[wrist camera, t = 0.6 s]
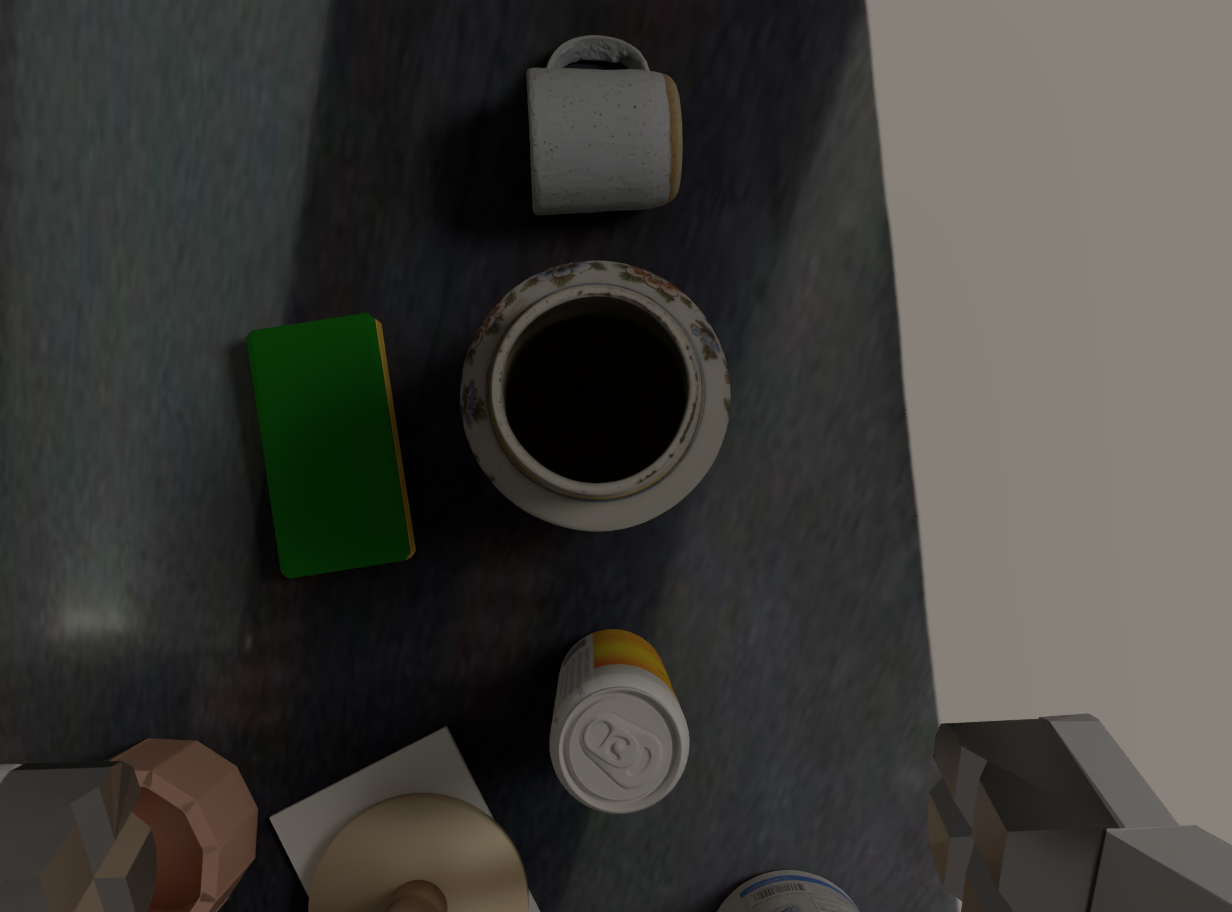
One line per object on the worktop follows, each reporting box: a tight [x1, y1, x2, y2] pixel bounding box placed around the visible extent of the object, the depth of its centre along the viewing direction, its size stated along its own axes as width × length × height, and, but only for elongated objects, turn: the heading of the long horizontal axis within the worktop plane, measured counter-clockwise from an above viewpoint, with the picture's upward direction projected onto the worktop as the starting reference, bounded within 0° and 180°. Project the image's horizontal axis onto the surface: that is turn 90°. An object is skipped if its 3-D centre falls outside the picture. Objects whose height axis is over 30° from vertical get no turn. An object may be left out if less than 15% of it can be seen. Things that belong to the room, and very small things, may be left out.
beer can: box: [550, 629, 689, 814], centre depth 51 cm, size 6×6×15 cm
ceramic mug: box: [526, 35, 682, 216], centre depth 55 cm, size 11×8×8 cm
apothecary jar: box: [460, 261, 731, 531], centre depth 49 cm, size 12×12×18 cm
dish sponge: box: [246, 313, 416, 579], centre depth 57 cm, size 7×14×2 cm, turn 9°
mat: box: [270, 726, 540, 912], centre depth 57 cm, size 16×11×1 cm
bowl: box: [104, 738, 258, 912], centre depth 54 cm, size 10×10×6 cm
